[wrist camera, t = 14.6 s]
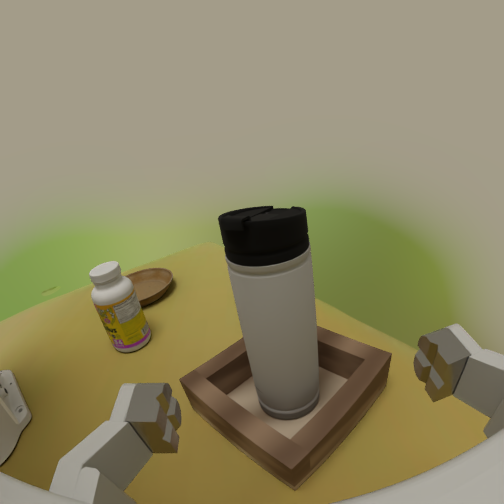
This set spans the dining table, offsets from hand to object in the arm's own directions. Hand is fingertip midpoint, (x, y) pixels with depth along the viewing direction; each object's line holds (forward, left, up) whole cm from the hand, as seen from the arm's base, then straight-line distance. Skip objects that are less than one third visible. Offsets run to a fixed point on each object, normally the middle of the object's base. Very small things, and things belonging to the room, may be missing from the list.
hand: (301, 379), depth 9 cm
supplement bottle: (-37, +2, -19) cm, 41 cm away
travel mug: (-11, +9, -18) cm, 23 cm away
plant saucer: (-51, +10, -19) cm, 55 cm away
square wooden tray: (-11, +9, -19) cm, 24 cm away
